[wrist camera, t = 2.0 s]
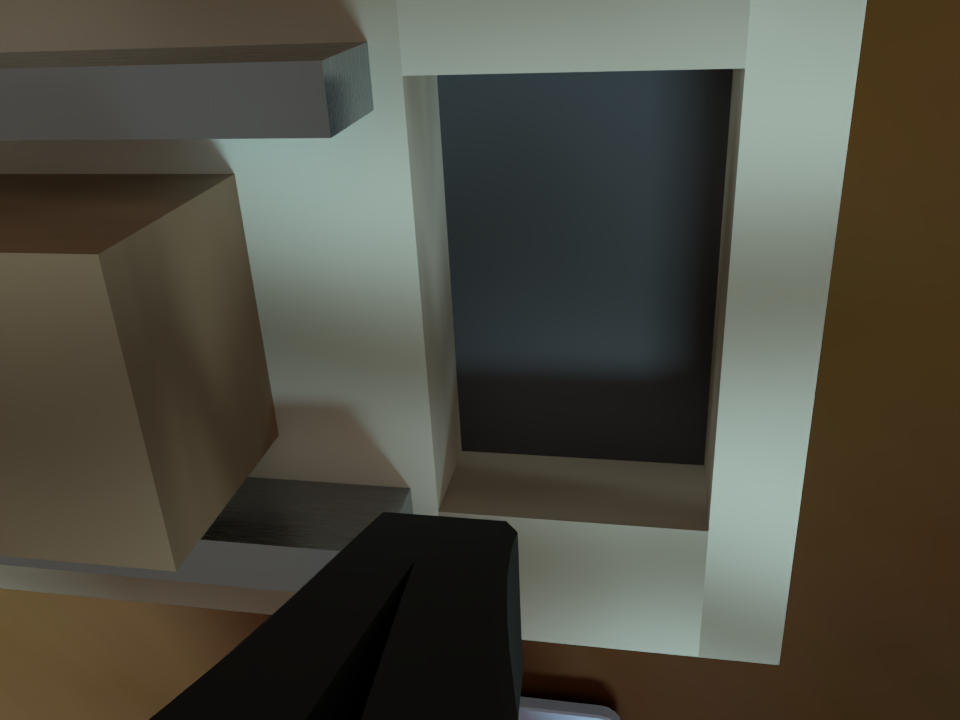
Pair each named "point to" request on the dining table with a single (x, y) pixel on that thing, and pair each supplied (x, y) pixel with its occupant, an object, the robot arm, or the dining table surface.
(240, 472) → the walnut block
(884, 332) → the dining table surface
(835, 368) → the dining table surface
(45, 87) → the grey metal bar
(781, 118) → the grey flat piece
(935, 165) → the dining table surface
